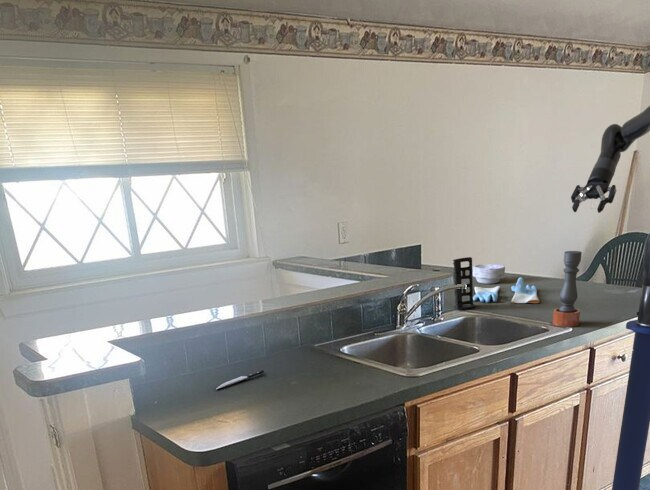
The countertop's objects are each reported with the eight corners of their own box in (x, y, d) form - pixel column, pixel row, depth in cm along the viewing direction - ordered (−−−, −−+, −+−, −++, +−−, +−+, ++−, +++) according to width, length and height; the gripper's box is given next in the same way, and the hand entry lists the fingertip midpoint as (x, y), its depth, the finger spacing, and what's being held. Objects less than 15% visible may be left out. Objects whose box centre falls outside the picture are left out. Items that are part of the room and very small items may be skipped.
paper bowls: (508, 280, 321) (509, 264, 318) (498, 286, 309) (499, 269, 306) (478, 278, 329) (479, 262, 325) (467, 284, 317) (468, 267, 314)
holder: (466, 310, 264) (464, 260, 258) (449, 310, 269) (446, 260, 262) (478, 305, 272) (476, 256, 266) (461, 305, 277) (459, 257, 270)
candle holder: (560, 319, 243) (567, 250, 233) (577, 321, 239) (585, 251, 230) (554, 322, 239) (561, 252, 229) (571, 324, 235) (578, 253, 225)
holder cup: (584, 324, 237) (585, 311, 235) (563, 328, 234) (565, 314, 232) (567, 319, 244) (568, 306, 242) (547, 322, 242) (548, 309, 240)
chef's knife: (209, 389, 189) (215, 390, 187) (208, 385, 188) (215, 386, 186) (258, 371, 201) (265, 373, 199) (258, 368, 201) (264, 369, 199)
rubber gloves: (471, 303, 277) (472, 288, 275) (474, 288, 306) (475, 274, 304) (539, 304, 271) (540, 288, 268) (535, 288, 300) (536, 274, 297)
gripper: (580, 167, 235) (564, 203, 231) (621, 166, 226) (605, 203, 223) (584, 182, 240) (568, 217, 237) (624, 181, 232) (608, 218, 228)
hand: (586, 210), depth 230 cm, fingers open, 8 cm apart
